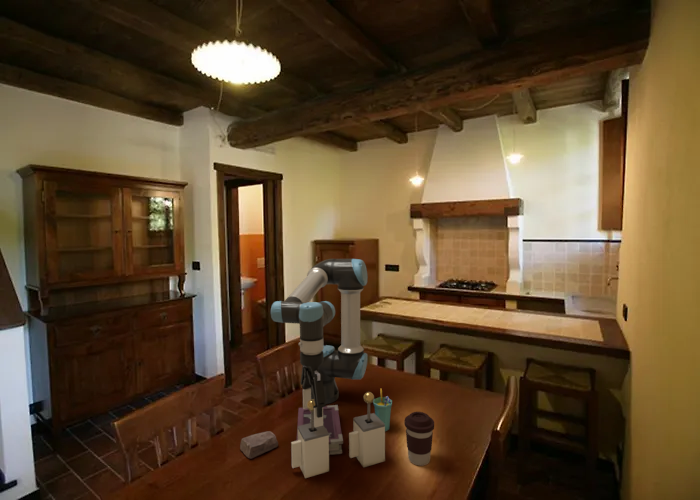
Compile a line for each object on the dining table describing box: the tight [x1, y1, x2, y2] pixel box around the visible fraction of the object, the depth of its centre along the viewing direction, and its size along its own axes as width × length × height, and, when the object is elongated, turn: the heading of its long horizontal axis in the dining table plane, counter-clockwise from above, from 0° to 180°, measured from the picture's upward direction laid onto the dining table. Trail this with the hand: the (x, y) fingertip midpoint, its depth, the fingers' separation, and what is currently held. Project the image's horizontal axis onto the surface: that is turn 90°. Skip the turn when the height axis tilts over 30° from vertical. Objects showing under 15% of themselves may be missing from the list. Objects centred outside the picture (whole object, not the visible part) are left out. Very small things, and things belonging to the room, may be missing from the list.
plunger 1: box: [307, 399, 315, 432], centre depth 116 cm, size 5×5×21 cm
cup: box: [372, 388, 393, 432], centre depth 139 cm, size 14×8×15 cm, turn 15°
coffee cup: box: [403, 411, 435, 466], centre depth 120 cm, size 10×10×15 cm
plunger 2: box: [363, 391, 375, 424], centre depth 121 cm, size 5×5×21 cm
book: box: [296, 404, 344, 456], centre depth 136 cm, size 25×16×5 cm, turn 6°
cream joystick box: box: [290, 423, 330, 479], centre depth 116 cm, size 8×11×13 cm
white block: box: [348, 412, 386, 468], centre depth 121 cm, size 8×11×13 cm
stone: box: [239, 430, 279, 459], centre depth 128 cm, size 12×9×5 cm
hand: (312, 416), depth 116 cm, fingers open, 11 cm apart
